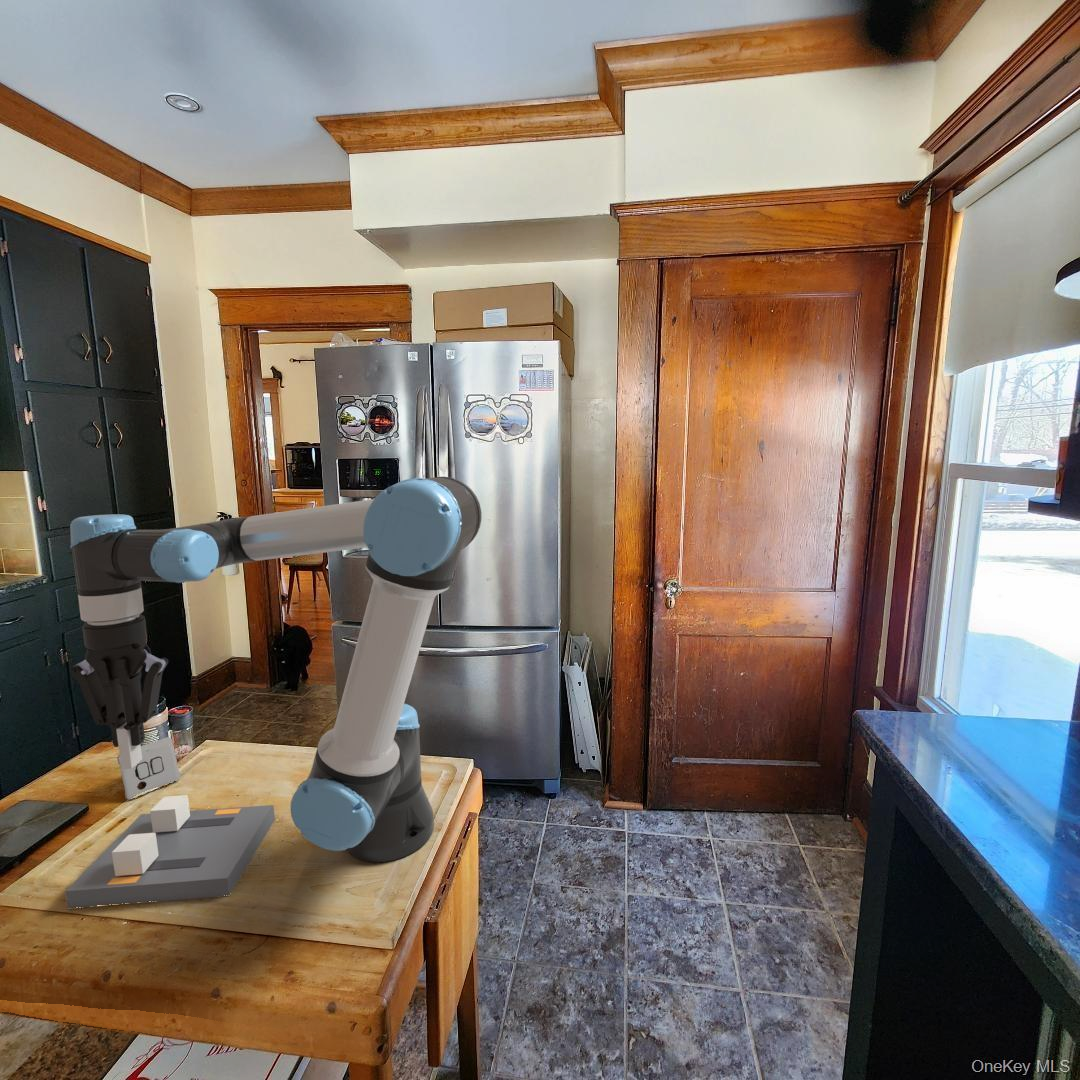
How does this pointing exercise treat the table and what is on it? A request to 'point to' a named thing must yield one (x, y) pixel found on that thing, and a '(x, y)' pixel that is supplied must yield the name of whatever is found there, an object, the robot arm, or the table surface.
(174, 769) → the electrical switch
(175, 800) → the tab right
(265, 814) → the switch panel
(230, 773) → the table surface
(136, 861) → the tab left
